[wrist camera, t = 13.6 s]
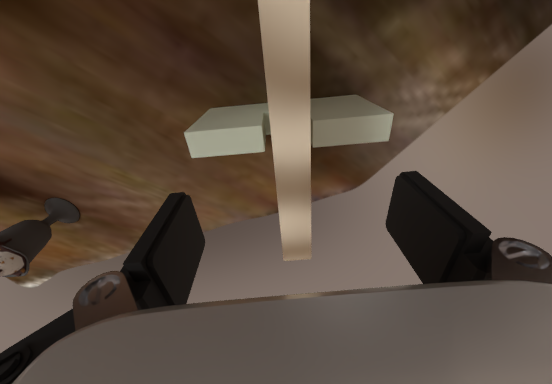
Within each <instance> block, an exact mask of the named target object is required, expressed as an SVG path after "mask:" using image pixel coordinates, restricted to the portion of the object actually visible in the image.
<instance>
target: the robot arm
mask: <svg viewBox="0 0 552 384" xmlns="http://www.w3.org/2000/svg"><path fill="white" fill-rule="evenodd" d="M386 228H387V230H388V232H389V233H390V235H391V236H392V238H393V239H394V241H395V242H396V244H397V245H398V247H399V248H400V250H401V251H402V253H403V254H404V256H405V257H406V259H407V260H408V262H409V263H410V265H411V266H412V268H413V269H414V271H415V272H416V274H417V275H418V277H419V278H420V280H421V281H422V283H423V284H418V285H405V286H392V287H379V288H366V289H353V290H341V291H330V292H317V293H305V294H293V295H281V296H270V297H258V298H247V299H235V300H224V301H212V302H202V303H193V304H186V303H187V300H188V297H189V294H190V290H191V287H192V284H193V281H194V278H195V275H196V271H197V268H198V265H199V262H200V259H201V256H202V253H203V250H204V246H205V239H204V235H203V232H202V229H201V226H200V223H199V221H198V218H197V215H196V212H195V209H194V206H193V203H192V200H191V198H190V196H189V195H186V194H185V193H184V192H180V193H171V194H170V195H169V196H168V197H167V199H166V200H165V202H164V203H163V205H162V206H161V208H160V209H159V211H158V212H157V214H156V215H155V217H154V218H153V220H152V221H151V223H150V224H149V226H148V227H147V229H146V230H145V232H144V233H143V235H142V236H141V238H140V239H139V240H138V242H137V243H136V245H135V246H134V248H133V249H132V251H131V252H130V254H129V255H128V257H127V258H126V260H125V261H124V263H123V265H124V266H123V268H122V269H121V271H120V272H119V271H110V272H106V273H103V274H101V275H98V276H96V277H95V278H93V279H91V280H90V281H88V282H87V283H86V284H85V285H84V286H82V287H81V289H80V290H79V291H78V292H77V293H76V295H75V297H74V299H73V309H71V310H70V311H68V312H66V313H65V314H63V315H62V316H60V317H58V318H57V319H55V320H53V321H52V322H50V323H49V324H47V325H45V326H44V327H42V328H40V329H39V330H37V331H35V332H34V333H32V334H31V335H29V336H28V337H26V338H24V339H22V340H21V341H19V342H18V343H16V344H14V345H13V346H11V347H9V348H8V349H6V350H5V351H3V352H2V353H0V384H552V256H551V255H550V254H549V253H547V252H546V251H544V250H543V249H541V248H540V247H537V246H535V245H533V244H531V243H529V242H526V241H523V240H519V239H515V238H505V237H504V238H498V239H496V240H495V241H493V240H491V239H490V238H489V236H490V234H491V231H490V230H489V229H487V228H486V227H485V226H484V225H482V224H481V223H480V222H479V221H477V220H476V219H475V218H473V216H471V215H470V214H469V213H468V212H466V211H465V210H464V209H462V208H461V207H460V206H459V205H458V204H457V203H455V202H454V201H453V200H452V199H450V198H449V197H448V196H447V195H445V194H444V193H443V192H442V191H441V190H439V189H438V188H437V187H436V186H434V185H433V184H432V183H431V182H429V181H428V180H427V179H426V178H425V177H423V176H422V175H421V174H420V173H418V172H417V171H410V172H402V173H401V174H400V175H399V176H397V177H396V179H395V184H394V188H393V192H392V197H391V202H390V206H389V210H388V215H387V219H386Z"/></svg>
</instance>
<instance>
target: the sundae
mask: <svg viewBox="0 0 552 384" xmlns="http://www.w3.org/2000/svg"><path fill="white" fill-rule="evenodd" d="M44 206H45V210H46V212H47V213H48V214H49V216H48V217H47V218H45V219H44V220H42V221H39V220H24V221H22V222H19V223H17V224H15V225H13V226H11V227H9V228H7V229H5V230H3V231H1V232H0V277H1V276H2V277H15V276H25V275H26V274H27V273H28V271H29V263H30V262H31V261H32V260H33V259H34V257H35V256H36V255H37V254H38V253H39V252H40V251H41V250H42V249H43V247H44V246H45V245H46V244H47V242H48V241H49V240H50V238H51V236H52V234H51V228H50V225H51V224H53V223H54V222H56V221H57V220H58V221H60V222H64V223H74V222H76V221H78V219H79V217H80V216H79V211H78V210H77V208H76V207H75V206H74V205H73V204H71V203H70V202H68V201H66V200H64V199H60V198H50V199H48V200H46V202H45V205H44Z"/></svg>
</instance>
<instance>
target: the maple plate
mask: <svg viewBox="0 0 552 384" xmlns="http://www.w3.org/2000/svg"><path fill="white" fill-rule="evenodd" d="M258 7H259V18H260V28H261V38H262V48H263V58H264V68H265V78H266V88H267V98H268V108H269V118H270V128H271V138H272V148H273V158H274V169H275V179H276V189H277V199H278V209H279V218H280V229H281V239H282V249H283V258H284V261H288V260H302V259H311V120H310V0H258Z"/></svg>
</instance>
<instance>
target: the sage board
mask: <svg viewBox="0 0 552 384" xmlns="http://www.w3.org/2000/svg"><path fill="white" fill-rule="evenodd" d="M393 115H394V113H392V112H390V111H388V110H386V109H384V108H382V107H380V106H378V105H376V104H374V103H372V102H370V101H368V100H366V99H364V98H362V97H360V96H358V95H346V96H336V97H325V98H314V99H310V120H311V144H312V147H313V148H314V147H325V146H337V145H348V144H360V143H371V142H383V141H389V137H390V131H391V126H392V120H393ZM184 134H185V138H186V141H187V144H188V148H189V151H190V154H191V158H199V157H210V156H222V155H233V154H245V153H256V152H265V142H266V135H269V134H271V128H270V118H269V108H268V103H261V104H250V105H240V106H229V107H219V108H210V109H209V110H208V111H207V112H206V113H205V114H204V115H203V116H202V117H200V118H199V119H198V120H197V121H196V122H195V123H194V124H193V125H192V126H191V127H189V128H188V129H187V130H186V131H185V132H184Z"/></svg>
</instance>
